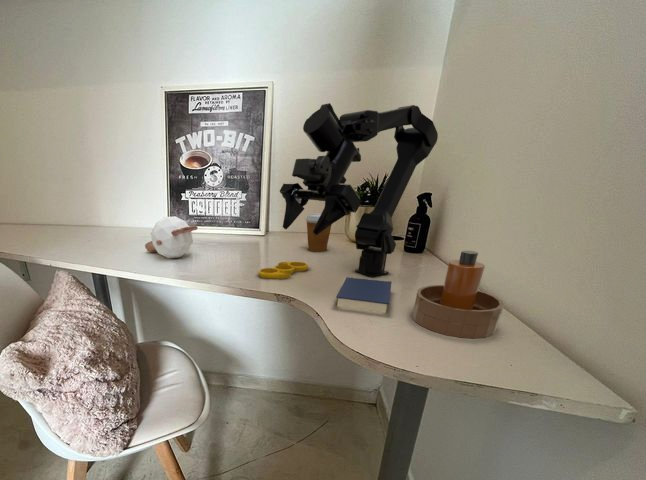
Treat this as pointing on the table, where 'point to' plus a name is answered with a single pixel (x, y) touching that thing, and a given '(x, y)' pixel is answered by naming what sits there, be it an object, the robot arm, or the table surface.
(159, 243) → the stuffed white mouse
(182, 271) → the table surface
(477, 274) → the amber bottle
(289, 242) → the table surface
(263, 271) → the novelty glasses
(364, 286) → the book
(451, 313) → the wooden bowl
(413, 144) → the robot arm
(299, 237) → the table surface
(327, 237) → the disposable coffee cup
